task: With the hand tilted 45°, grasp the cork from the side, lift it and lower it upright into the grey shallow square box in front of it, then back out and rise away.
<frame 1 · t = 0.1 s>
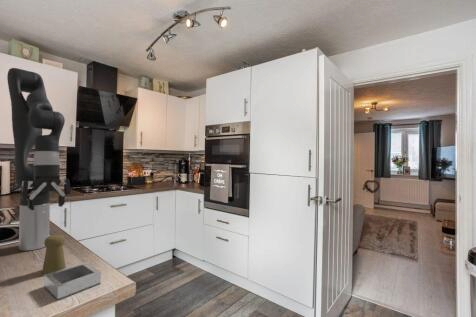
hand: (46, 208, 88), 17 cm above the countertop, tool pointing down, fingers open, 8 cm apart
cork: (54, 270, 77), on the countertop
grey shallow square box: (72, 285, 68), on the countertop
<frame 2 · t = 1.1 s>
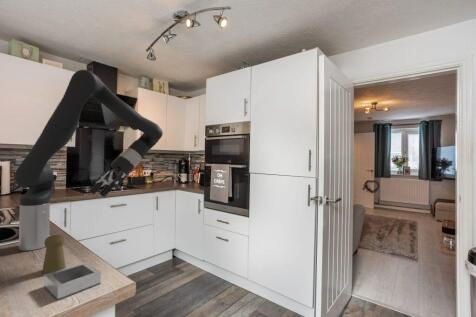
hand: (96, 194, 87), 23 cm above the countertop, tool tilted 45°, fingers open, 8 cm apart
nothing on the countertop moved.
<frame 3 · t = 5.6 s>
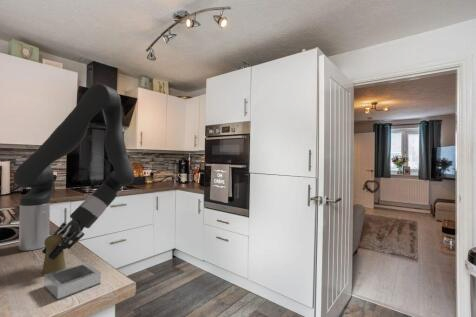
hand: (47, 255, 76), 5 cm above the countertop, tool tilted 45°, fingers closed on cork, 5 cm apart
cork: (54, 270, 77), on the countertop, touching gripper
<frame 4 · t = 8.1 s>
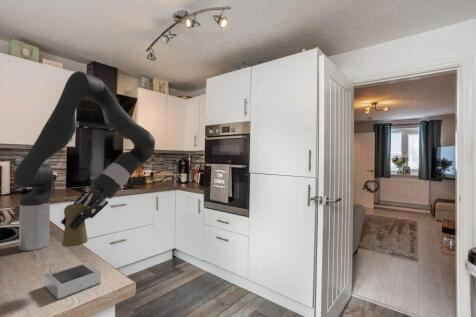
hand: (67, 226, 67), 17 cm above the countertop, tool tilted 45°, fingers closed on cork, 5 cm apart
cork: (75, 243, 69), point 12 cm above the countertop, touching gripper
when the fingers open (7 cm above the countertop, at t = 11.0 s): cork drops 1 cm, resting on grey shallow square box.
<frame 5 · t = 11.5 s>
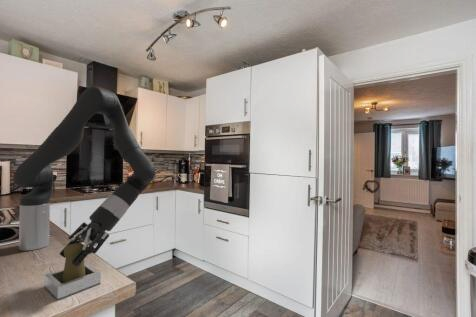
hand: (67, 260, 67), 8 cm above the countertop, tool tilted 45°, fingers open, 8 cm apart
cork: (73, 283, 69), resting on grey shallow square box
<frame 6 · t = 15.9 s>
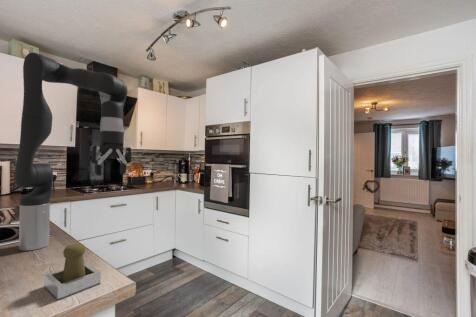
hand: (111, 174, 88), 30 cm above the countertop, tool pointing down, fingers open, 8 cm apart
nothing on the countertop moved.
at the end: cork 0.6 cm off-centre on the grey shallow square box, point 0.2 cm above the grey shallow square box's base; cork tilted 0°; the gripper is holding nothing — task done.
